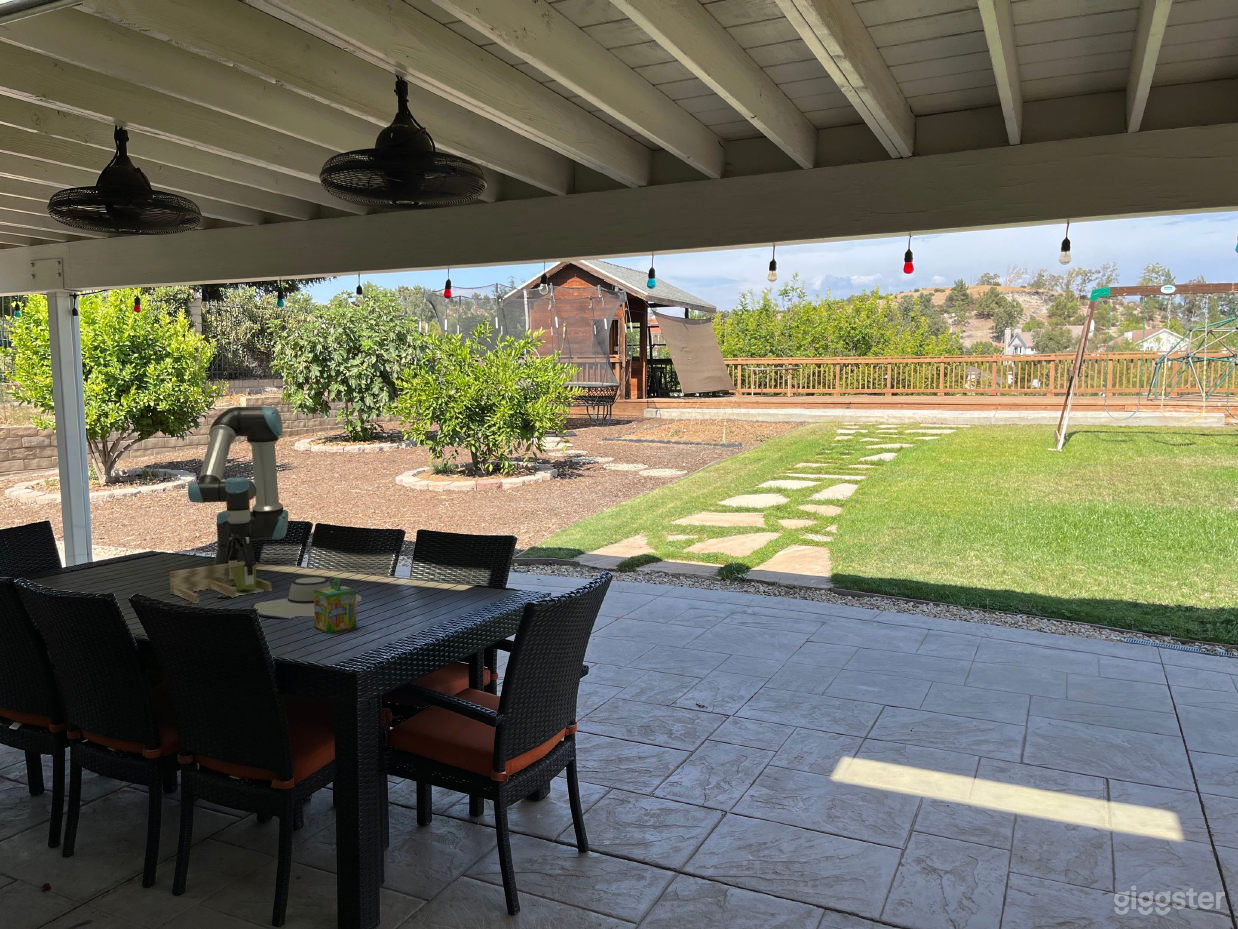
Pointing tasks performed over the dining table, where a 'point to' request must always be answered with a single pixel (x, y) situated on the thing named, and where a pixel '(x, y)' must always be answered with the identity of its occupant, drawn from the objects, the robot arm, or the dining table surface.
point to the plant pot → (242, 576)
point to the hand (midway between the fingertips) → (241, 581)
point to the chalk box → (335, 607)
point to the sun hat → (295, 600)
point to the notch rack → (210, 582)
